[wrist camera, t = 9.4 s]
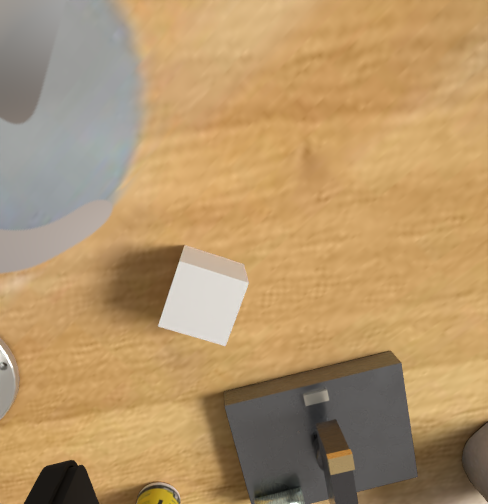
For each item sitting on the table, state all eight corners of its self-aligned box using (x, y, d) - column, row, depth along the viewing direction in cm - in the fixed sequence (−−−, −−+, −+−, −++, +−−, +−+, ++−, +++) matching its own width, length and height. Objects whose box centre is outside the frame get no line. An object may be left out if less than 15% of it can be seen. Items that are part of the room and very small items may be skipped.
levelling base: (252, 498, 46) (257, 534, 42) (223, 391, 42) (225, 418, 38) (407, 459, 46) (427, 491, 42) (390, 350, 43) (410, 373, 38)
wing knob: (345, 477, 43) (369, 537, 36) (319, 483, 43) (338, 544, 36) (333, 404, 41) (356, 453, 34) (306, 410, 40) (324, 460, 34)
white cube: (224, 318, 41) (225, 346, 35) (165, 301, 40) (157, 326, 34) (244, 263, 39) (249, 282, 34) (184, 244, 39) (179, 260, 33)
